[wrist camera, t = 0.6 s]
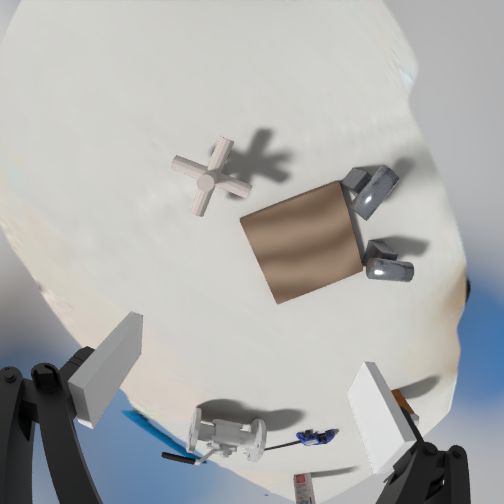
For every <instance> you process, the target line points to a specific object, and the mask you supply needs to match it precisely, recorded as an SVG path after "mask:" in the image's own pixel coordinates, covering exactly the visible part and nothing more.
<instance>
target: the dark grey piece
mask: <svg viewBox="0 0 504 504" xmlns="http://www.w3.org/2000/svg"><path fill="white" fill-rule="evenodd" d="M397 256H398V254H397V253H395V252H394V251H393V250H392V249H391V248H390V247H389V246H387V245H386V244H385V243H384V242H377V241H371V240H369V241H368V245H367V249H366V252H365V256H364V259H363V262H362V263H363V264H364V265H365V266H366V275H367V277H368V278H369V279H377V280H389V281H401V282H410V281H411V280H412V278H413V276H414V266H413V264H412V263H410V262H403V261H396V259H397Z"/></svg>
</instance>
